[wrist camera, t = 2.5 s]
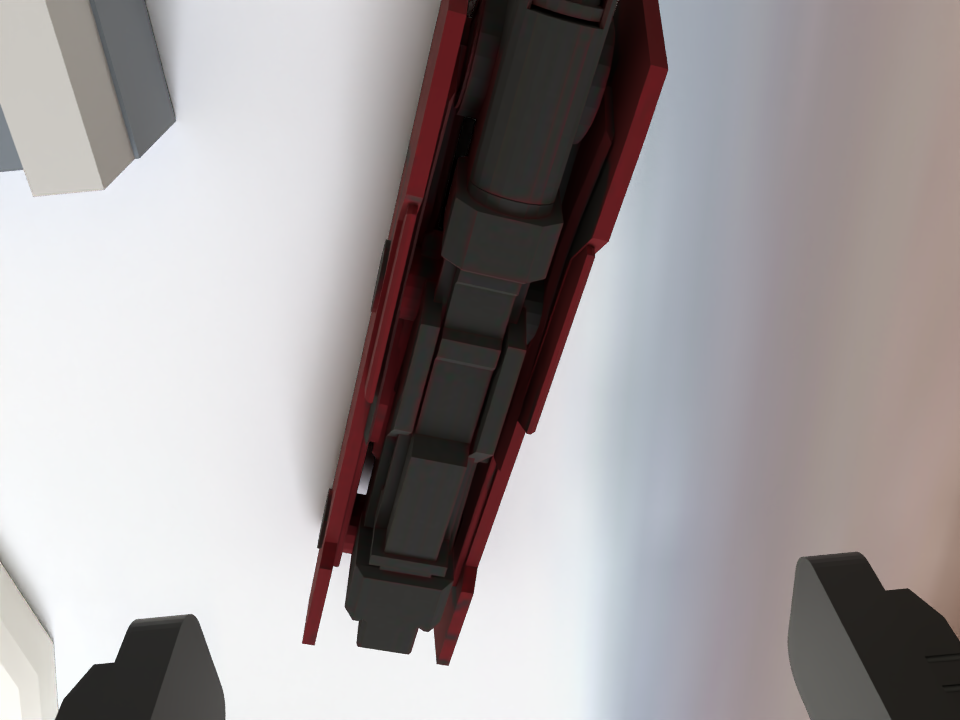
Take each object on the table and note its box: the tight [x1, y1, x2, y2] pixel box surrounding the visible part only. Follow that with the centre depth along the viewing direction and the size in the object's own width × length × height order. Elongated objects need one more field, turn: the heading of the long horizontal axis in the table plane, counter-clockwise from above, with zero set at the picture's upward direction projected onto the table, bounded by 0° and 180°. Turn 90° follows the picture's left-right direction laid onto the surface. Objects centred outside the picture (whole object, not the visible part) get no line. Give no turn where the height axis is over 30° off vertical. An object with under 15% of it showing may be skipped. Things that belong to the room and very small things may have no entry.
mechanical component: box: [302, 0, 668, 666], centre depth 22 cm, size 23×4×6 cm, turn 165°
